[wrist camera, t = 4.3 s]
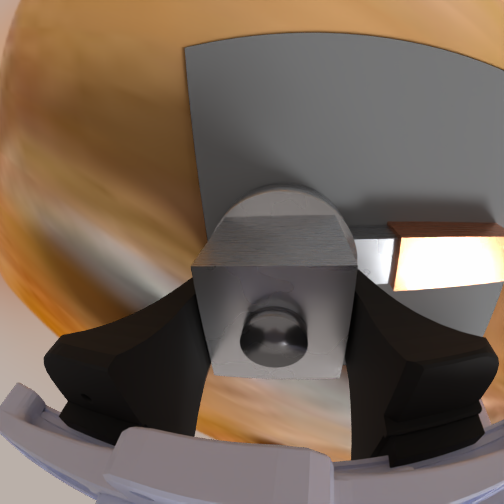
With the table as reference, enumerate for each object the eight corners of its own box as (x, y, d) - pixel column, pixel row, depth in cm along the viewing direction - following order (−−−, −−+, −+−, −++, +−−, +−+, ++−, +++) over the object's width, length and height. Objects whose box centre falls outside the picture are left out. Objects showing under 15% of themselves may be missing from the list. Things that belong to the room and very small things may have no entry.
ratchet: (479, 291, 14) (508, 329, 10) (226, 304, 17) (209, 353, 13) (500, 189, 11) (544, 212, 7) (209, 187, 14) (178, 212, 10)
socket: (329, 307, 13) (341, 390, 9) (235, 306, 14) (210, 387, 9) (335, 215, 11) (362, 276, 7) (225, 217, 12) (183, 276, 7)
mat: (476, 343, 16) (478, 345, 16) (231, 362, 19) (231, 365, 19) (519, 79, 8) (522, 79, 8) (186, 49, 11) (184, 47, 11)
